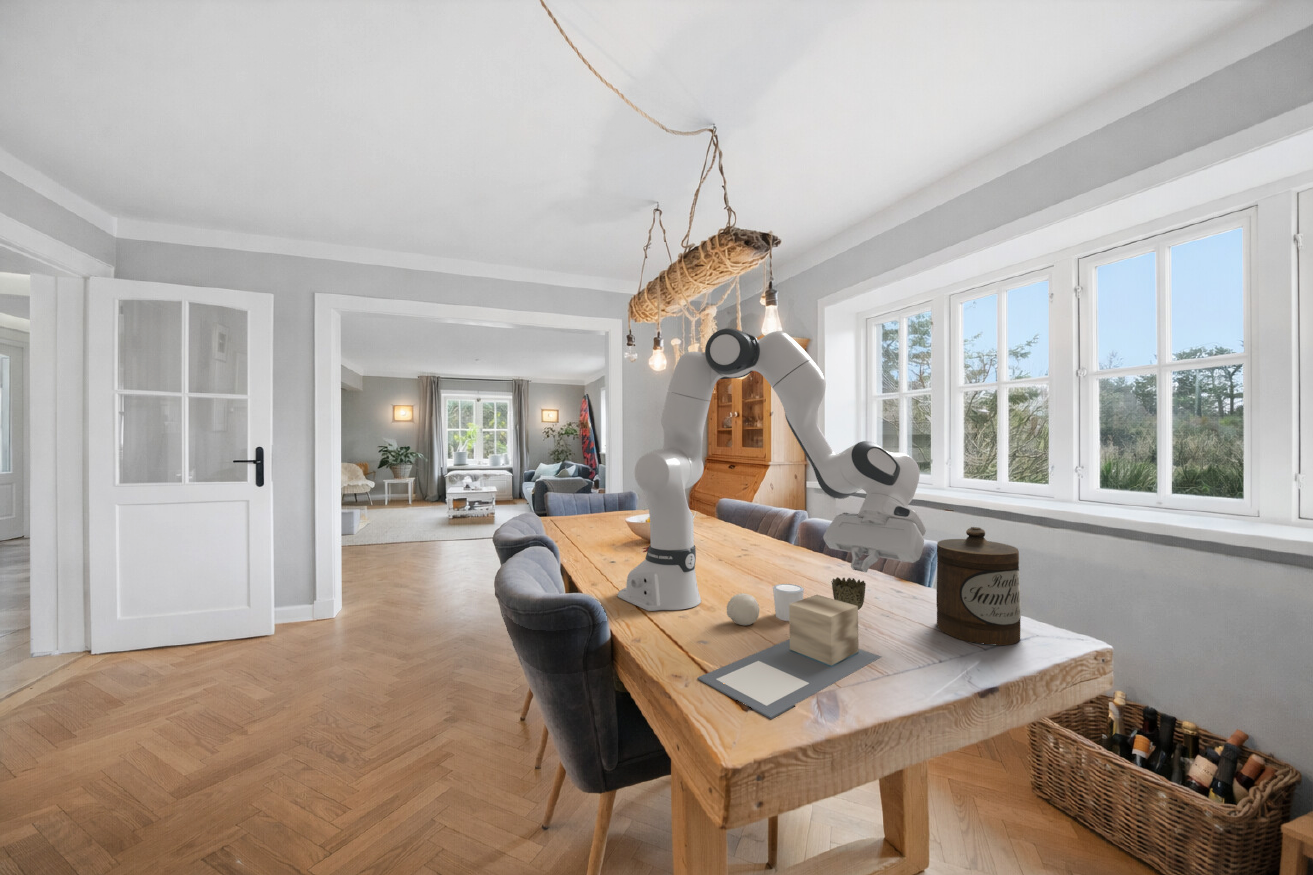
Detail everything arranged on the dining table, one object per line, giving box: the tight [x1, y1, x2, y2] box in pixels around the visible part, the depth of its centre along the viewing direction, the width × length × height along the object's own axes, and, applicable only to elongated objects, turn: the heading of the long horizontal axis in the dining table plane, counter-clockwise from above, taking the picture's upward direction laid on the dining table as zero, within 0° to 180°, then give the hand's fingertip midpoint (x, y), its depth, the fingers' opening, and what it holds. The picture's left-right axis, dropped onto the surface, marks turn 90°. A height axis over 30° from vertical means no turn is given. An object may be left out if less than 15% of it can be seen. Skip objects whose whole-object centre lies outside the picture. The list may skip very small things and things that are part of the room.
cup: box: [830, 576, 867, 611], centre depth 115 cm, size 8×7×8 cm
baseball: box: [726, 593, 760, 627], centre depth 111 cm, size 7×7×7 cm
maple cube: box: [788, 594, 860, 667], centre depth 96 cm, size 9×9×9 cm
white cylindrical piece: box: [772, 583, 805, 622], centre depth 115 cm, size 7×7×7 cm
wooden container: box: [936, 526, 1022, 646], centre depth 105 cm, size 15×15×22 cm
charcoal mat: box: [697, 638, 883, 720], centre depth 90 cm, size 32×16×1 cm, turn 128°
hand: (858, 569), depth 103 cm, fingers closed
